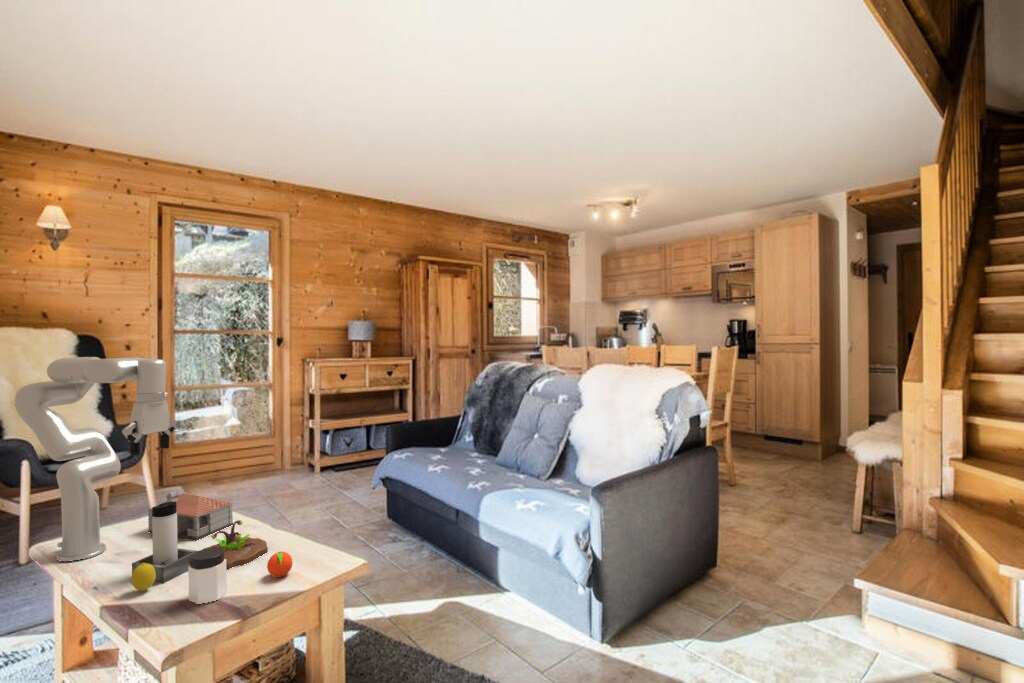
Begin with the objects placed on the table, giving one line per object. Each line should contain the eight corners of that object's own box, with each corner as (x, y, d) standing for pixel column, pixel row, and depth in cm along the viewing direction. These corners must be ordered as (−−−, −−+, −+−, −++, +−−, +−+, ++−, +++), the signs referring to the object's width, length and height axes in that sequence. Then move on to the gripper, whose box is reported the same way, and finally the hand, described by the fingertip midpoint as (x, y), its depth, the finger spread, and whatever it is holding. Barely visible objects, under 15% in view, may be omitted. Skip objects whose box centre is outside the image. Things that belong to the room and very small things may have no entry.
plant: (279, 552, 171) (279, 518, 171) (220, 575, 154) (220, 538, 154) (245, 539, 182) (244, 508, 181) (186, 560, 165) (185, 526, 165)
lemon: (152, 584, 149) (151, 557, 149) (158, 590, 145) (158, 562, 145) (129, 592, 144) (128, 563, 144) (135, 598, 141) (134, 569, 141)
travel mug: (166, 573, 153) (165, 506, 153) (147, 572, 154) (146, 505, 154) (183, 564, 159) (182, 500, 159) (165, 562, 160) (164, 499, 160)
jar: (203, 588, 146) (202, 546, 146) (231, 588, 146) (231, 546, 146) (182, 605, 137) (181, 560, 137) (213, 605, 137) (212, 560, 137)
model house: (147, 534, 188) (146, 493, 187) (187, 519, 202) (186, 481, 202) (195, 542, 180) (194, 499, 179) (233, 526, 194) (232, 486, 194)
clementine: (294, 579, 151) (294, 555, 151) (268, 585, 148) (268, 560, 148) (291, 568, 158) (291, 545, 158) (266, 573, 155) (266, 550, 155)
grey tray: (132, 578, 152) (131, 563, 152) (168, 561, 164) (168, 547, 164) (163, 583, 149) (163, 567, 149) (199, 565, 161) (198, 550, 161)
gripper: (167, 394, 173) (166, 444, 174) (114, 400, 157) (113, 456, 157) (184, 395, 171) (183, 446, 171) (133, 402, 155) (132, 458, 155)
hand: (150, 451), depth 164 cm, fingers open, 9 cm apart
